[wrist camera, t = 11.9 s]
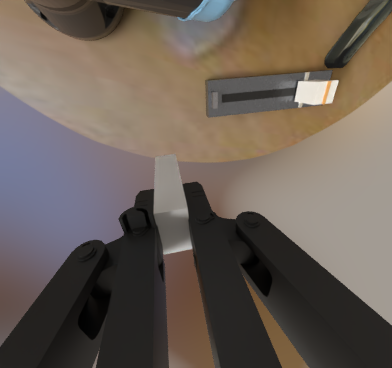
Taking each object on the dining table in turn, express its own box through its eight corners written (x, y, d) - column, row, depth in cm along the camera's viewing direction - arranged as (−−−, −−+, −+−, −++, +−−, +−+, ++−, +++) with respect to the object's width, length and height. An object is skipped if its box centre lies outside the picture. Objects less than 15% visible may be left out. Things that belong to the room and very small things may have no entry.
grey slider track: (205, 80, 37) (210, 80, 34) (325, 70, 41) (340, 69, 37) (206, 115, 41) (210, 119, 38) (316, 103, 44) (329, 106, 41)
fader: (298, 81, 38) (320, 81, 33) (315, 79, 39) (339, 80, 34) (294, 101, 41) (314, 105, 35) (310, 99, 41) (332, 103, 36)
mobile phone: (345, 70, 37) (417, -19, 31) (338, 61, 36) (410, -33, 30) (327, 70, 41) (386, -8, 35) (319, 62, 40) (380, -20, 34)
